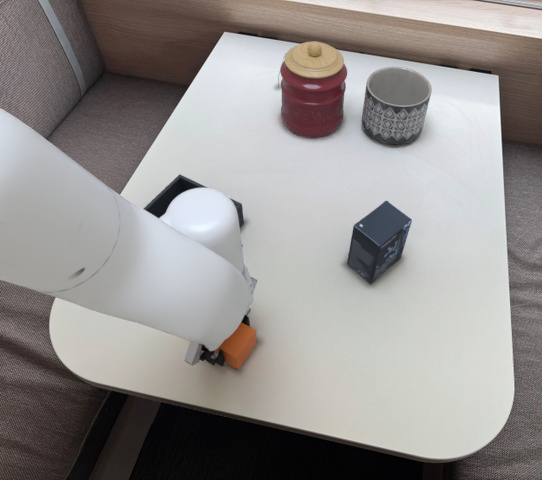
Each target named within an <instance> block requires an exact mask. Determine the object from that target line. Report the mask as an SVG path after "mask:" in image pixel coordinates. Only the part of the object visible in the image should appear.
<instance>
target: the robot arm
mask: <svg viewBox="0 0 542 480" xmlns="http://www.w3.org/2000/svg"><path fill="white" fill-rule="evenodd" d="M230 198H231V197H229V196H228V195H227V194H226V193H224V192H223V191H221V190H218V189H216V188H212V187H208V188H194V189H190V190H187V191H185V192H183V193H181V194H180V195H178V196H177V197H176V198H175V199H174V200H173V201H172V202H171V203H170V205H169V206H168V208H167V211H166V213H165V214H164V215H162V216H161V217H160V218H157V217H156V216H154V215H153V214H151V213H149V212H148V211H146V210H144V208H143V207H141V206H139V205H137V204H135V203H133V202H132V201H131V200H128V199H127V198H125V197H124V196H122V195H121V194H119V193H118V192H116V191H115V190H114V189H112V188H111V187H110V186H109V185H107V184H106V183H105V182H104V181H101V180H100V179H99V178H97V177H96V176H95V175H93V174H92V173H91V172H90V171H88V170H87V169H86V168H84V167H83V166H82V165H80V164H79V163H78V162H76V161H75V160H73V158H71V157H70V156H69V155H68V154H66V153H65V152H63V151H62V150H61V149H60V148H59V147H57V146H56V145H54V144H53V143H52V142H51V141H49V140H47V138H45V137H44V136H42V135H41V134H40V133H39V132H37V131H36V130H35V129H33V128H32V127H30V126H29V125H28V124H26V123H25V122H23V121H22V120H20V119H19V118H17V117H16V116H15V115H13V114H11V113H10V112H8V111H6V109H3V108H1V107H0V281H2V282H7V283H8V284H13V285H16V286H20V287H22V288H26V289H29V290H32V291H34V292H38V293H40V294H44V295H47V296H50V297H53V298H56V299H59V300H61V301H62V300H63V301H65V302H69V303H70V304H71V303H72V304H74V305H77V306H80V307H82V308H85V309H87V310H90V311H93V312H96V313H99V314H103V315H106V316H111V317H114V318H118V319H122V320H124V321H128V322H132V323H136V324H139V325H142V326H145V327H148V328H152V329H155V330H156V331H157V330H158V331H161V332H163V333H166V334H169V335H171V336H175V337H178V338H180V339H183V340H187V341H189V344H188V345H189V346H188V348H187V351H186V354H185V356H184V359H183V360H184V362H185V363H187V364H189V365H190V366H194V365H197V364H198V363H200V361H202V362H204V361H206V362H207V363H208V364H210V365H212V366H215V365H218V366H220V367H222V368H223V367H224V366H225V365H226V362H225V359H224V355H223V352H222V351H221V350H219V349H220V345H221V344H222V343H223V341H224V340H225V339H227V338H228V337H229V336H231V335H232V334H233V333H234V331H235V330H236V329H237V328H238V326H239V325H240V323H241V322H242V323H244V324H246V325H247V326H249V327H251V324H250V317H249V315H250V314H251V312H252V309H251V306H252V304H253V301H254V293H255V292H254V291H255V288H256V286H257V284H258V279H256V278H255V277H252V276H251V275H250V272H249V270H248V267H247V266H246V264H245V262H244V259H245V258H244V254H243V253H244V252H243V244H242V237H241V227H239V219H238V214H237V209H236V207H235V205H234V203H233V201H232V200H231V199H232V198H231V199H230Z"/></svg>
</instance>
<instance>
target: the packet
mask: <svg viewBox="0 0 542 480" xmlns="http://www.w3.org/2000/svg"><path fill="white" fill-rule="evenodd" d="M257 335H258V334H257V330H256V329H254V328H253V327H252V326H250V327H249V326H247V325H246V324H244V323H242V322H241V323H240V325H239V326H238V328H237V329H236V330H235V331H234V333H233V334H232V335H231V336H229V337H228V338H227V339H225V340H224V341H223V343H222V344H221V345H220V349H219V350H221V351H222V352H223V355H224V359H225V364H228V365H229V366H230V367H233V368H234V369H236V370H240V368H241V367H242V365H243V364H244V363H245V361H246V360H247V358H248V357H249V356H250V354H251V353H252V351H253V350H254V349H255V347H256V346H257V344H258V336H257Z"/></svg>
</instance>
